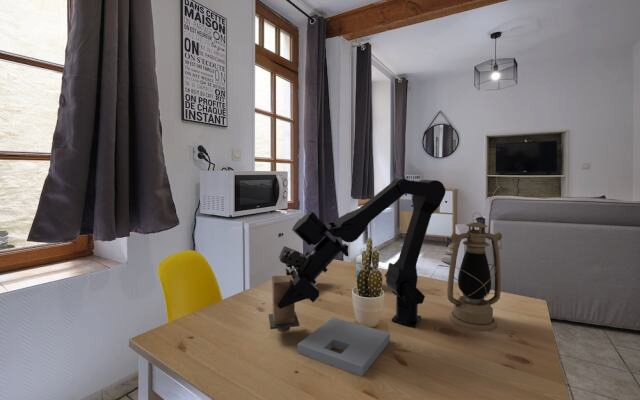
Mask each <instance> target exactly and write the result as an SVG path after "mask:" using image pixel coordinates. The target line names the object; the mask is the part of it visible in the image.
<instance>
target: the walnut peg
mask: <svg viewBox="0 0 640 400" xmlns="http://www.w3.org/2000/svg"><path fill="white" fill-rule="evenodd" d="M290 279H291V280H292V281H293V277H292V275H286V274H284V275H272V276H271V284H272V285H271V292H272V293H271V294H272V313H270V314H268V322H269V327H270V328H269V329H270V330H276V331H278V332H281V333H285V332H289V331H290V330H291V328H295V327H300V321H299V319H298V316H297V312H296V311H295V310H296V309H295V304H296V303H293V304H291V305H289V306H286V307H284V308H281V309H280V308H279V307H278V306H277V305H278V304H279V302H280V301H281V299H282V298H283V296H284V295H285V294H286V292H287V291H288V289H289V288H290Z"/></svg>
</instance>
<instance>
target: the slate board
mask: <svg viewBox="0 0 640 400" xmlns="http://www.w3.org/2000/svg"><path fill="white" fill-rule="evenodd" d="M390 342H391V332H388V331H384V330H381V329H377V328H373V327H370V326H366V325H361V324H359V323H355V322H351V321H347V320H344V319H341V318H338V317H337V318H336V317H334V316H332V317H331V318H330V319H328V320H327V321H326V322H324V324H322V325H321V326H319V327H318V328H316V329H315V330H314V331H313V332H311V333H310V334H309V335H307V336H306V337H305V338H304V339H302V340H301V341H300V342H298V343H297V345H296V346H297V347H296V348H297V353H298V354H300V355H302V356H306V357H308V358H311V359H313V360H316V361H319V362H321V363H324V364H327V365H329V366H332V367H335V368H338V369H341V370H344V371H346V372H349V373H352V374H353V375H356V376H360V377H363V376H364V374H366V372H367V371H368V370H369V369H370V367H371V366H372V364H374V362H375V360H377V358H378V357H379V356H380V354H382V352H383V350H384V349H385V348H386V347H387V346H388V344H389V343H390ZM332 349H337V350H340V351H342V352H341V353H339V352H336V351H334V350H332Z"/></svg>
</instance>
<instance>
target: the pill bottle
mask: <svg viewBox="0 0 640 400" xmlns="http://www.w3.org/2000/svg"><path fill="white" fill-rule="evenodd" d="M364 250H365V247H364V248H360V250H359V253H360V254H359V255H357V256H356V261H355V262H356V263H355V264H356V265H355V267H356V268H355V269H356V271H355V274H356V276H355V278H356V279H357V275H358V273H359V271H360V270H361V269H362V265H361V262H362V252H363V251H364ZM356 279H355V280H356Z"/></svg>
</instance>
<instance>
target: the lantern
mask: <svg viewBox="0 0 640 400" xmlns="http://www.w3.org/2000/svg"><path fill="white" fill-rule="evenodd" d="M475 214H476V212H474V213H473V214H472V216H474V215H475ZM478 214H479V217H482V216H481V213H479V212H478ZM478 221H479V222H474V220H472V222H470V223H467V224H465V226H467V227H468V230H467V232H463V233H462V232H461V233H459V234H458V233H456V232H453V233H452V234H451V235H450V237H451V239H452V240H453V241H452V247H450V250H449V251H450V253H451V254H450V262H449V270H448V278H447V279H448V280H447V291H446V292H447V294H446V295H447V296H446V297H447V299H448V301H449V302H450V303H451V304H453V310H452V311H451V312H450V313H449V315H448V319H449V321H450V322H451V323H453V324H454V325H456V326H458V327H461V329H465V330H469V331H475V332H490V331H494V330H496V329H497V328H498V322H497V321H496V319H495V318H494V317H493V316H494V315H493V313H494V308H493V307H492V305H494V304H495V303H496V304H497V302H498V301H499V300H500V299H501V291H502V290H501V287H502V286H501V285H502V284H501V282H502V281H501V277H502V275H501V274H502V273H501V260H500V249H502V247H503V246H502V244H500V246H499V244H498V242H499V241H500V242H502V238H503V234H502V233H501V231H497V232H496V233H495V234H493V233H490V232H485V228H487V227H488V225H487V224H483V223H481V222H480V221H481V220H478ZM475 228H478V229H475ZM463 239H466V240H464V241H463ZM486 239H490V241H491V245H490V243H488V242H487V241H486ZM461 241H462V244H463V245H465V246H466V248H465V253H464V255H463V258H462V262H461V263H460V264H461V265H460V268H459V267H457V259H458V253H459V248H460V246H461ZM490 246H492V254H493V264H490V263H488V262H489V261H488V257H487V254H486V253H487V251H486V248H487V247H490ZM490 266H491V269H490ZM493 268H494V269H493ZM456 269H458V270H459V271H458V272H459V273H458V276H457V278H456V277H455V272H456ZM492 270H494V271H493V272H494V273H493V274H492V276H491V272H492ZM493 276H494V292H491V290H492V278H493ZM454 280H456V281H457V285H458V288H459V290H460V292H461V293H462V295H460V294H459V293H457V295H458V296H459V297H458V298H457V299H456V298H454V283H455V281H454ZM490 292H491V293H490ZM489 294H492V295H493V294H494V295H493V296H492V297H491V298H490V299H487V297H488V296H489Z"/></svg>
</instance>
